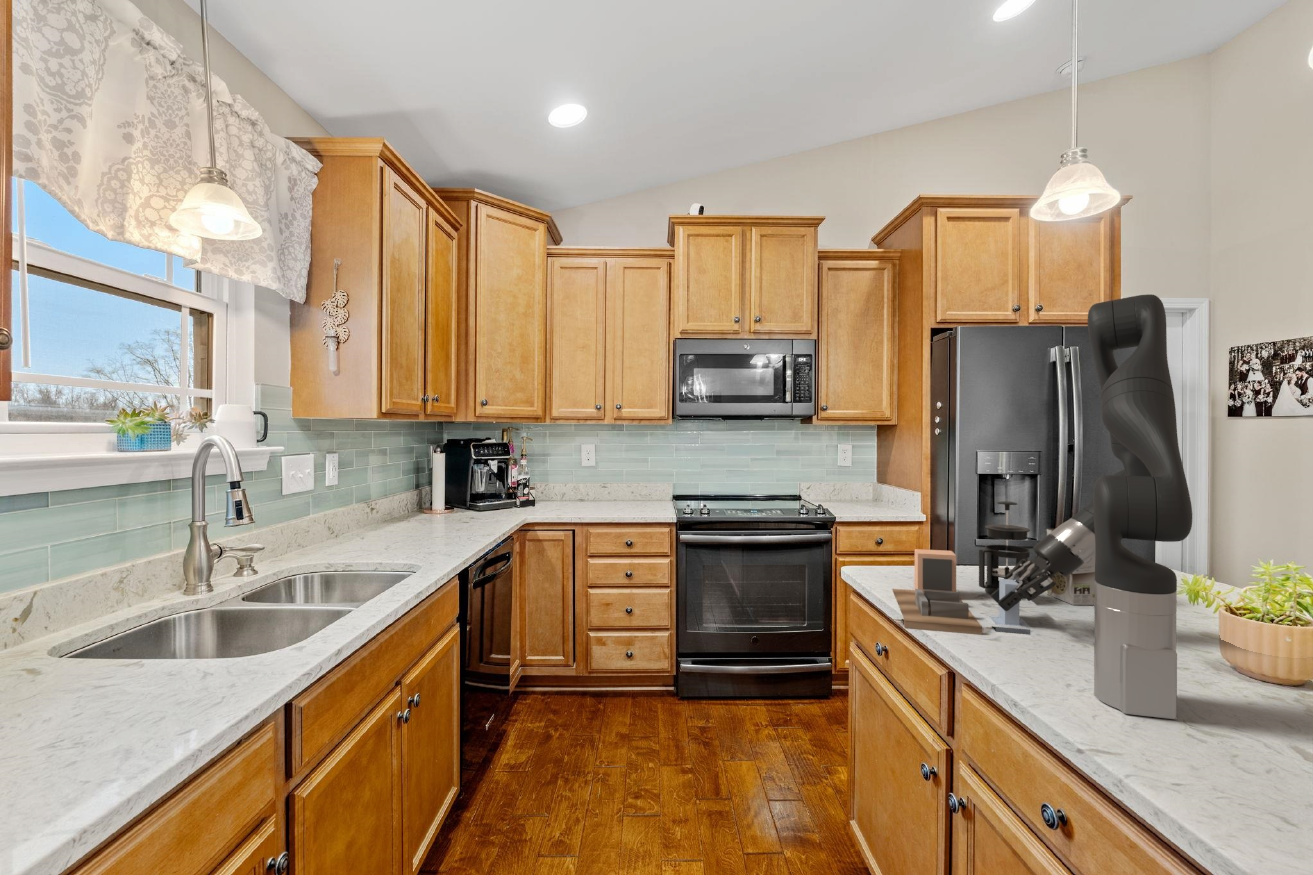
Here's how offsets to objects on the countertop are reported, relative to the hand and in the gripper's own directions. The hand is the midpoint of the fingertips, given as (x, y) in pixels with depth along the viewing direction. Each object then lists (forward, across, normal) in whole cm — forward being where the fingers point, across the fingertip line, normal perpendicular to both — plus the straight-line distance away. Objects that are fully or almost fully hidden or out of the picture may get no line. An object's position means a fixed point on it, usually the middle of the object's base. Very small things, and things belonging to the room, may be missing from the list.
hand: (998, 603), depth 116 cm
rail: (+11, -7, -4) cm, 14 cm away
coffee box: (-12, -26, +19) cm, 34 cm away
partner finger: (+9, -16, -4) cm, 19 cm away
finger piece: (+2, 0, +5) cm, 5 cm away
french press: (-1, -22, +8) cm, 23 cm away
